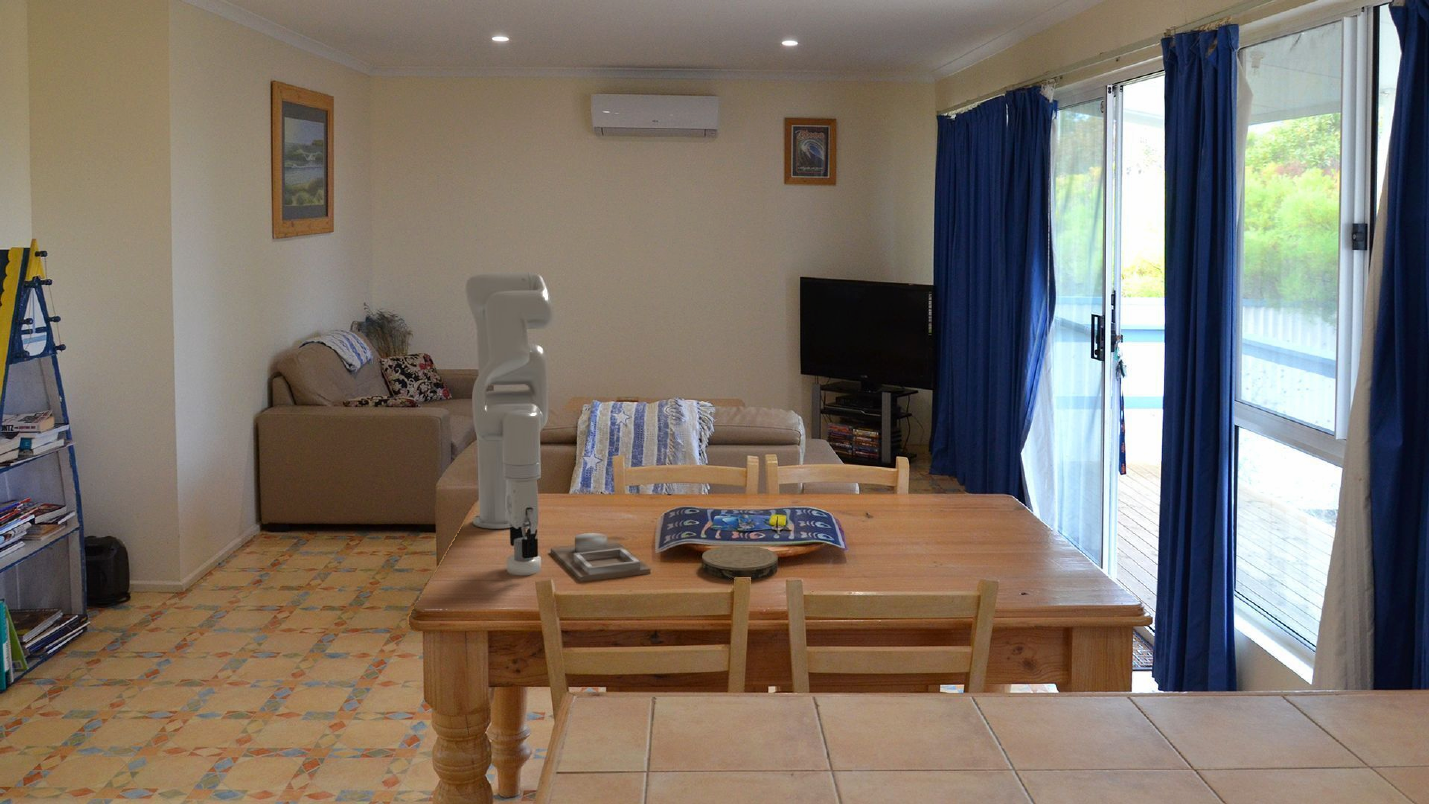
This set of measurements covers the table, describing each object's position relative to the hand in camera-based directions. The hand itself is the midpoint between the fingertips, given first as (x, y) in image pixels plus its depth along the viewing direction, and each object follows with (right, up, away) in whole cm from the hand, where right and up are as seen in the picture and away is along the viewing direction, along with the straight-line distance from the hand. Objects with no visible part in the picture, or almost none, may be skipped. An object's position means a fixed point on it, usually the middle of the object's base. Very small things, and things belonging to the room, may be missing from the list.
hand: (523, 551), depth 249 cm
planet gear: (0, -4, +1) cm, 4 cm away
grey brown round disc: (+45, -5, +3) cm, 45 cm away
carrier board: (+15, -3, +6) cm, 17 cm away
